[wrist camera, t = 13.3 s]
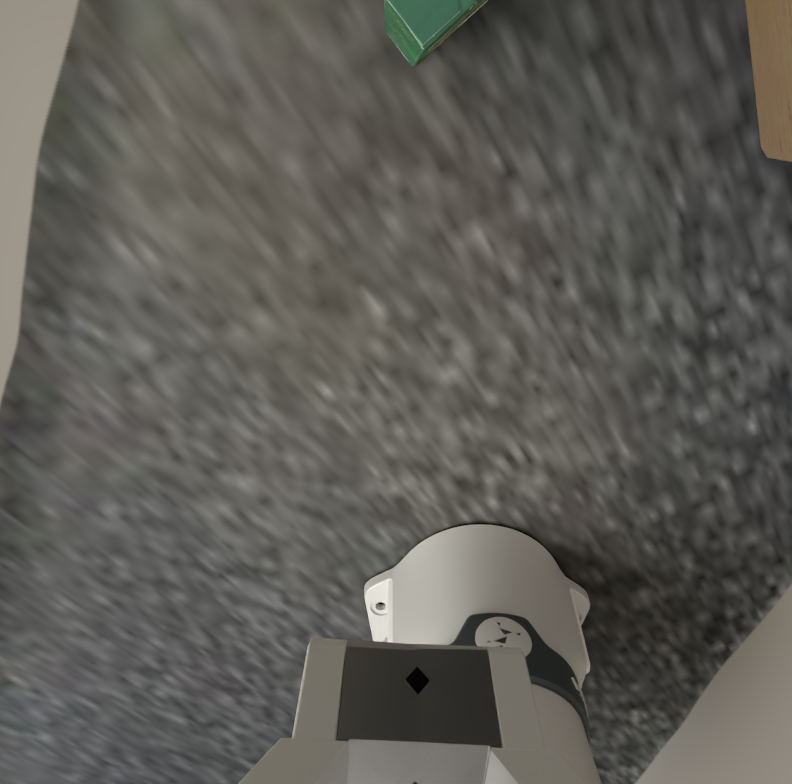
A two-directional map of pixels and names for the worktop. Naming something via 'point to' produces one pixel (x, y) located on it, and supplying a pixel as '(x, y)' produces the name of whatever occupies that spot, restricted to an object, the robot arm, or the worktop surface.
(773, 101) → the block
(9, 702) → the worktop surface
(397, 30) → the coffee box
